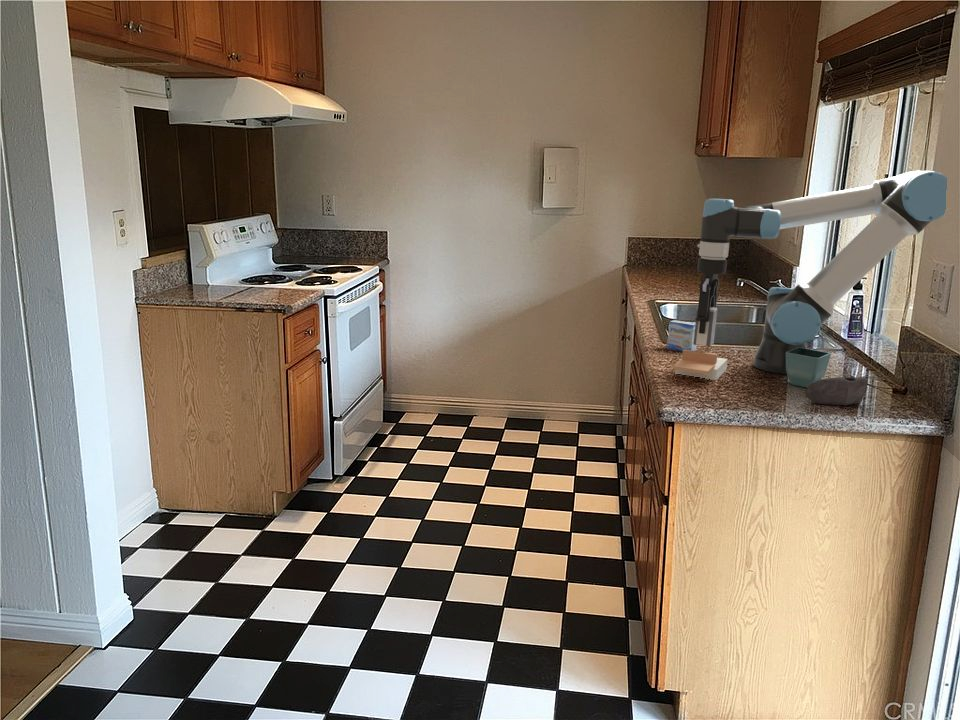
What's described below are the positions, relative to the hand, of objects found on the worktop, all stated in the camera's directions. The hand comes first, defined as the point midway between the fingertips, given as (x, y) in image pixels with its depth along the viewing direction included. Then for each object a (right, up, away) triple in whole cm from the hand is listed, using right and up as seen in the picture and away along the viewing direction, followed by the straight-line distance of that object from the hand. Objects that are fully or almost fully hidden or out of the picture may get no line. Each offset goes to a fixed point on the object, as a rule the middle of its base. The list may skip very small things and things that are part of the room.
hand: (703, 342), depth 220 cm
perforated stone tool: (+25, -16, -24) cm, 38 cm away
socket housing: (0, -8, +2) cm, 8 cm away
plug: (0, 0, 0) cm, 0 cm away
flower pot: (+24, -12, -8) cm, 28 cm away
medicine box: (+1, -2, +28) cm, 28 cm away
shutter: (-4, -7, -6) cm, 10 cm away
